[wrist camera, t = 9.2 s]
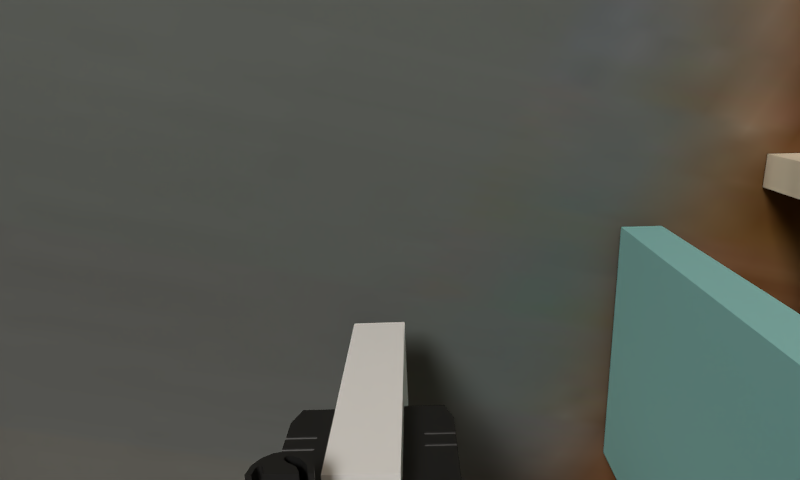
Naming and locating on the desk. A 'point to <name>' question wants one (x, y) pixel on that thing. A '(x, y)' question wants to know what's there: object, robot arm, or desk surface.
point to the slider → (698, 369)
